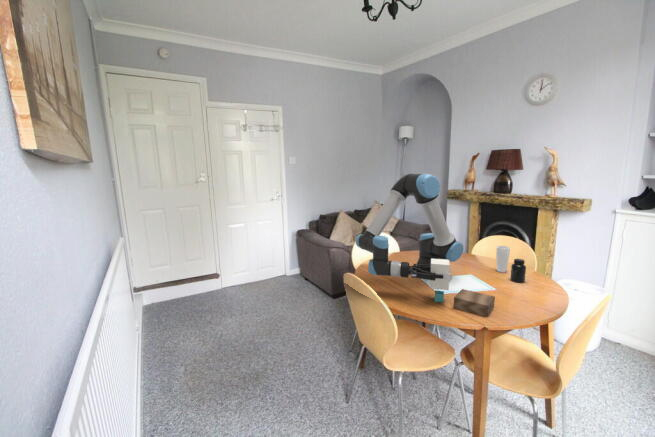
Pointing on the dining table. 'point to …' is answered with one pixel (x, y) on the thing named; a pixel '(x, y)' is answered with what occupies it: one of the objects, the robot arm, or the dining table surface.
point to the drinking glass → (502, 258)
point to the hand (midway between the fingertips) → (450, 273)
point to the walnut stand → (474, 302)
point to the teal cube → (439, 296)
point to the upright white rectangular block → (439, 267)
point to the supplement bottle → (518, 271)
